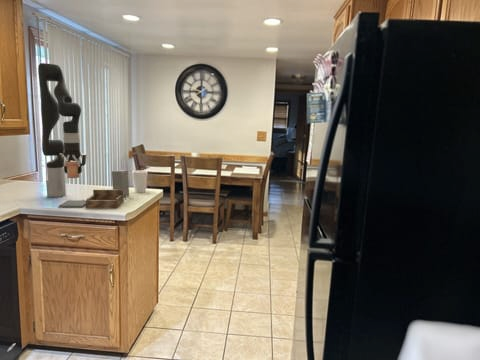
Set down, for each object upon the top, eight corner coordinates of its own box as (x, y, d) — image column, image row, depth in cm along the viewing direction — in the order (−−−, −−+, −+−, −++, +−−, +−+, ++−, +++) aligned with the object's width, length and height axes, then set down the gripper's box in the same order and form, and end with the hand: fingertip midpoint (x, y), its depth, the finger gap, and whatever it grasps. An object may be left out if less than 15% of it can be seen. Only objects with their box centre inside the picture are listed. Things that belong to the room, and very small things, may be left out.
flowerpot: (64, 178, 180) (63, 162, 178) (69, 176, 186) (68, 160, 185) (77, 178, 181) (76, 162, 179) (82, 176, 187) (81, 160, 185)
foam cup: (134, 189, 228) (134, 170, 226) (148, 189, 229) (148, 170, 227) (131, 192, 219) (130, 172, 217) (146, 192, 220) (145, 172, 217)
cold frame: (85, 208, 180) (85, 195, 179) (94, 201, 194) (93, 189, 192) (117, 208, 181) (116, 195, 180) (123, 201, 195) (123, 189, 194)
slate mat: (58, 207, 179) (58, 205, 179) (67, 202, 191) (67, 200, 191) (82, 207, 181) (82, 205, 180) (90, 202, 192) (90, 200, 192)
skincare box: (122, 197, 205) (121, 171, 202) (111, 196, 206) (110, 170, 203) (129, 194, 213) (129, 169, 210) (119, 194, 214) (118, 168, 211)
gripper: (54, 141, 176) (56, 174, 179) (83, 142, 177) (85, 174, 180) (60, 140, 183) (62, 172, 186) (88, 141, 184) (89, 172, 187)
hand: (73, 173), depth 183 cm, fingers closed on flowerpot, 5 cm apart
